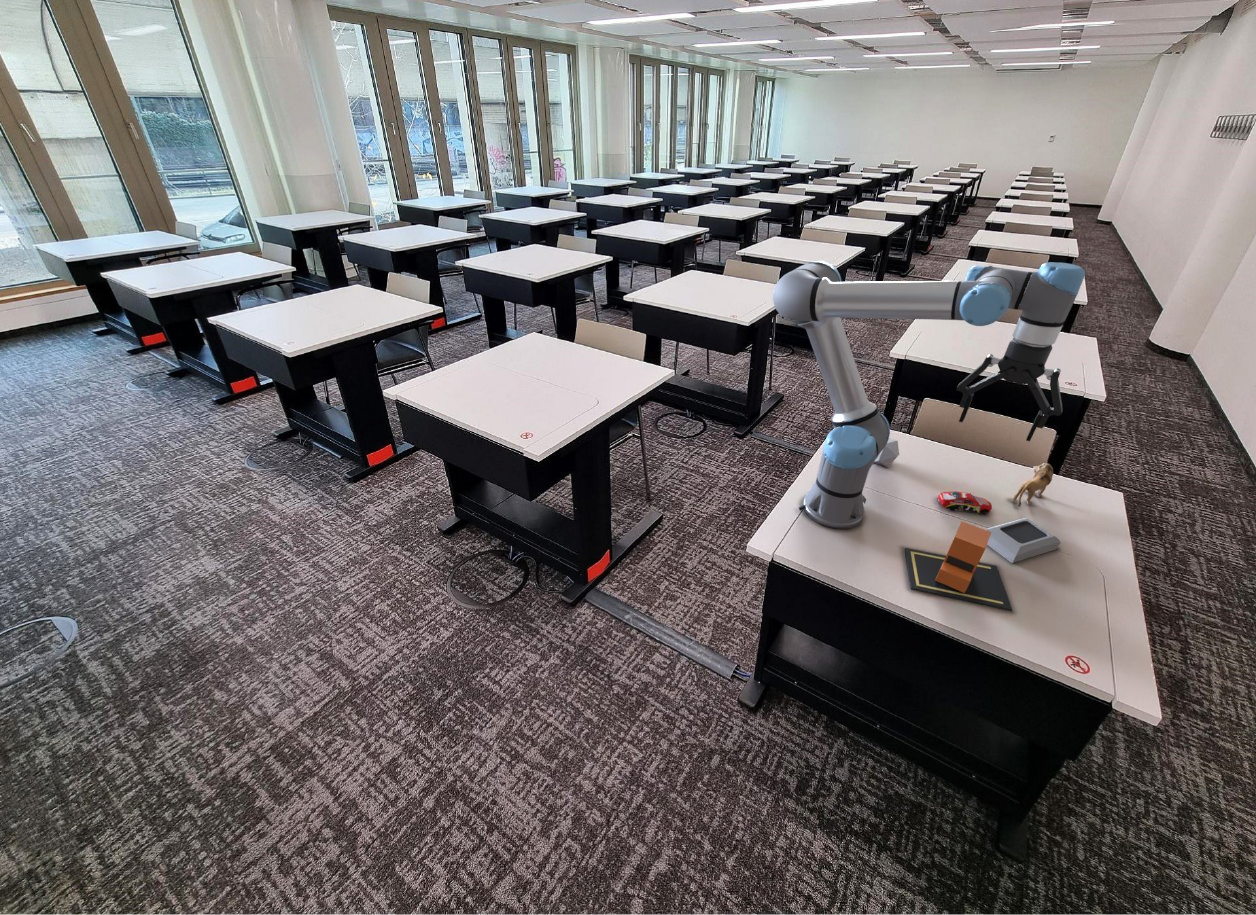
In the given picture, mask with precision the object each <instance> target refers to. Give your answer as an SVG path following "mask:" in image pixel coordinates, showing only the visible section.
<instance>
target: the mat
mask: <svg viewBox="0 0 1256 915" xmlns="http://www.w3.org/2000/svg"><path fill="white" fill-rule="evenodd" d="M903 548H904V554H905V560H906V567H907V573H908V574H907V575H908V579H909V586H910V590H912V591H913V590H914V591H917V592H921V593H927V594H932V595H937V596H942V597H946V598H950V599H954V600H959V601H965V602H969V603H972V604H973V603H974V604H977V605H978V604H979V605H983V606H987V607H992V608H997V609H1001V610H1005V611H1011V612H1012V611H1013V608H1012V604H1011V602H1010V600H1009V597H1008V593H1007V590H1006V589H1005V586H1004V582H1003V580H1002V577H1001V575H1000V572H999V569H998V566H997V565H995V564H990V563H984V562H980V561H979V563H978V565H977V567H976V569H975V571H974V573H973V576H972V578H971V581H970V583H969V585H968V587H967V589H966V591H965V593H963V592H960V591H959V590H956V589H954V588H952V587H949V586H947V585H945V584H942V583H940V582H937V581H935V580H936V577H937V575H938V573H939V571H940V568H941V566H942V564H943V562H944V559H945V557H946V555H944V554H939V553H936V552H935V553H934V552H931V551H930V552H929V551H925V550H919V549H913V548H908V547H903Z"/></svg>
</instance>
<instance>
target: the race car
mask: <svg viewBox="0 0 1256 915" xmlns="http://www.w3.org/2000/svg"><path fill="white" fill-rule="evenodd" d="M936 500H937V503H938V504H939V505H940V506H941V507H942V508H944V509H945V510H949V511H950V512H954V511H959V512H960V511H961V512H966V513H967V512H968V513H975V514H976V513H978V514H981V515H983V516H984V515H987V514H990V513H991V511H992V509H993V504H992V502H990V501H989V500H988V499H986V498H984V497H980V496H977V495H973V494H972V493H971V492H970V493H969V492H966V491H958V490H957V491H942V492H940V493H939V494H938V495H937V498H936Z"/></svg>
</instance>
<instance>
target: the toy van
mask: <svg viewBox="0 0 1256 915" xmlns="http://www.w3.org/2000/svg"><path fill="white" fill-rule="evenodd" d="M990 535H991V532H990V531H987V530H984V528H982V527H979V526H976V525H973V524H971V523H968V522H965V521H962V520H961V521H960V523H959V526H958V528H957V530H956V533H955V535H954V536H953V539H952V542H951V544H950V546H949V548H948V550H947V553H946V555H945V556H946V557H945V559H944V562H943V564H942V566H941V568H940V571H939V573H938V575H937V577H936V580H935V581H937V582H940V583H942V584H945V585H947V586H949V587H952V588H954V589H956V590H959V591H960V592H963V593H965V591H966V589H967V587H968V585H969V583H970V581H971V578H972V576H973V573H974V571H975V569H976V567H977V565H978V563H979V562H980V561H981V559H982V557H983V555H984V553H985V551H986V549H987V546H988V545H987V543H988V541H989V538H990Z"/></svg>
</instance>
